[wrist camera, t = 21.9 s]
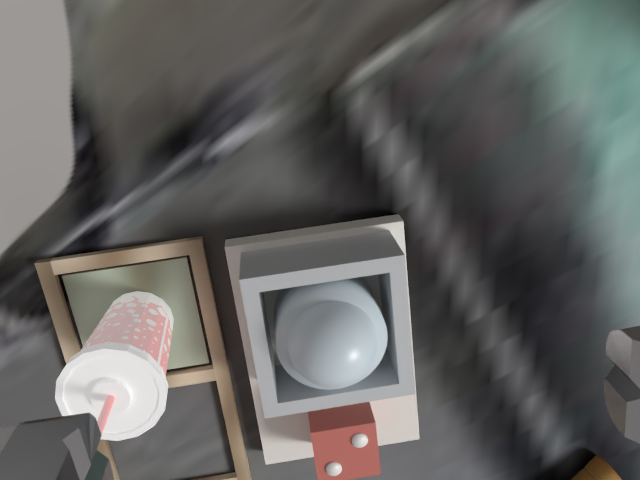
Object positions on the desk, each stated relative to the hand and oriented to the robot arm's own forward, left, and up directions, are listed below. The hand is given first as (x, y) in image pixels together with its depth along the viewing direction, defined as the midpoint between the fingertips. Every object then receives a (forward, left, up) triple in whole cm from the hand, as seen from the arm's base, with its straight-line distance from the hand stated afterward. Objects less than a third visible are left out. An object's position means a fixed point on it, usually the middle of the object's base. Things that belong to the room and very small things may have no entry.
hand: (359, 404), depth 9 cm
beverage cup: (+12, +13, -31) cm, 36 cm away
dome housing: (-1, +17, -31) cm, 35 cm away
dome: (-1, +13, -29) cm, 32 cm away
